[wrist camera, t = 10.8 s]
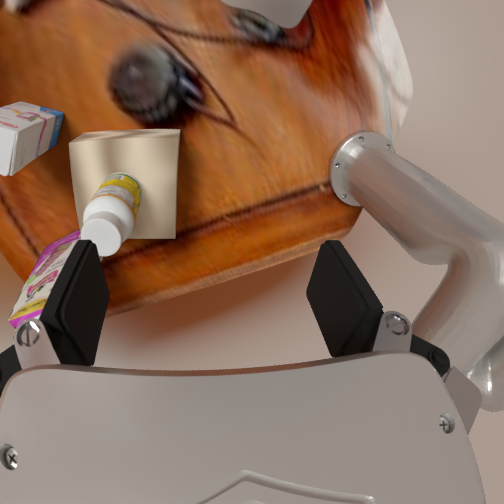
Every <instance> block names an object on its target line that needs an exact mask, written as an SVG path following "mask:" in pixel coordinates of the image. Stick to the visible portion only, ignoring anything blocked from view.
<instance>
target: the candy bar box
mask: <svg viewBox="0 0 504 504" xmlns="http://www.w3.org/2000/svg"><path fill="white" fill-rule="evenodd" d="M78 240H82V239H81V232H80V229H79V230H77V231H75V232H73V233H71V234H69V235H67V236H65V237H63V238H61V239H59V240H57V241H56V242H54V243H52V244H50V245H48V246H46V248H45V249H44V251H43V253H42V254H41V256H40V258H39V259H38V261H37V263H36V265H35V267H34V268H33V270H32V272H31V274H30V276H29V278H28V280H27V281H26V283H25V285H24V287H23V289H22V291H21V293H20V295H19V297H18V299H17V301H16V304H15V306H14V308H13V310H12V312H11V315H10V317H9V319H8V321H9V322H10V323H11V325H12V326H13V327H14V328H15V329H16V328H17V327H18V326H19V324H21V323H22V322H23V321H25V320H27V319H32V318H34V319H38V320H39V317H40V315H41V312H42V310H43V307H44V305H45V303H46V301H47V298H48V296H49V294H50V292H51V290H52V287H53V285H54V283H55V281H56V279H57V277H58V275H59V274H60V272H61V270H62V268H63V266H64V264H65V262H66V260H67V258H68V256H69V254H70V253H71V251H72V249H73V247H74V245H75V244H76V242H77V241H78ZM99 258H100V262H102V259H103V256H99Z"/></svg>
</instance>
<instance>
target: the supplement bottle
mask: <svg viewBox="0 0 504 504" xmlns="http://www.w3.org/2000/svg"><path fill="white" fill-rule="evenodd" d="M141 200H142V189H141V185H140V183H139V182H138V180H137V179H136V178H135V177H133V176H132V175H130V174H128V173H123V172H117V173H113V174H111V175H109V176H108V177H107V178H105V180H104V181H103V182H102V184H101V185H100V187H99V188H98V190H97V191H96V193H95V194H94V196H93V197H92V199H91V200H90V202H89V203H88V205H87V207H86V209H85V211H84V215H83V224H84V225H83V227H82V230H81V239H82V240H92V242H93V243H95V244H96V246H97V250H98V254H99V256H110V255H112V254H114V253H116V252H117V251H118V249H119V248H120V246H121V243H122V242H124V241H125V240H126V239H127V238H128V237H129V236H130V234H131V232H132V229H133V226H134V223H135V219H136V216H137V213H138V210H139V206H140V203H141Z"/></svg>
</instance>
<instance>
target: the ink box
mask: <svg viewBox="0 0 504 504" xmlns="http://www.w3.org/2000/svg"><path fill="white" fill-rule="evenodd" d="M63 116H64V113H63V112H59V111H56V110H52V109H49V108H45V107H41V106H37V105H33V104H29V103H25V102H17V103H14V104H11V105H7V106H4V107H1V108H0V174H1V175H3V176H7V175H11V176H12V175H14V174H15V173H16V172H18V171H19V170H20V169H22V168H23V167H24V166H26V165H27V164H28V163H30V162H31V161H33V160H34V159H35V158H37V157H38V156H40V155H41V154H43V153H44V152H46V151H47V150H49V149H51V148H52V147H54V146H55V145H56V143H57V139H58V135H59V131H60V127H61V123H62V120H63Z"/></svg>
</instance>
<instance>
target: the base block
mask: <svg viewBox="0 0 504 504" xmlns="http://www.w3.org/2000/svg"><path fill="white" fill-rule="evenodd" d="M179 142H180V129H136V130H114V131H100V132H88V133H83V134H81V135H80V136H78V137H77V138H75V139H74V140H72V141H71V142H69V153H70V165H71V175H72V184H73V191H74V198H75V205H76V211H77V216H78V222H79V227H80V232H81V230H82V227H83V225H84V224H83V215H84V211H85V209H86V207H87V205H88V203H89V202H90V200H91V199H92V197H93V196H94V194H95V193H96V191H97V190H98V188H99V187H100V185H101V184H102V182H103V181H104V180H105V178H107V177H108V176H109V175H111V174H113V173H117V172H123V173H128V174H130V175H132V176H133V177H135V178H136V179H137V180H138V182H139V183H140V185H141V189H142V200H141V203H140V206H139V210H138V213H137V216H136V219H135V223H134V226H133V229H132V232H131V234H130V236H129V237H128V238H127V239H175V238H176V210H177V177H178V157H179Z"/></svg>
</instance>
